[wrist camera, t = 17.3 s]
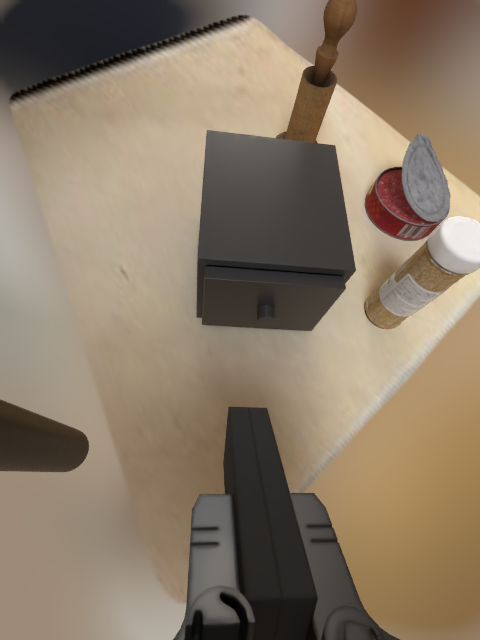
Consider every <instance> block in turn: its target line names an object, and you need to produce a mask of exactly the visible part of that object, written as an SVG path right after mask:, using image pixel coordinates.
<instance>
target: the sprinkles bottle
mask: <svg viewBox="0 0 480 640" xmlns="http://www.w3.org/2000/svg"><path fill="white" fill-rule="evenodd" d="M478 268H480V223H479V222H477V221H475V220H473V219H471V218H467V217H463V216H454V217H450V218H448V219H446V220H444V221H443V222H442V223H441V224H440V225H439V226H438V227H437V228H436V229H435V230H434V231H433V232H432V233H431V234H430V236H429V238H428V240H427V241H426V242H425V243H424V245H422V246H421V247H420V248H419V249H418V250H417V251H416V252H415V253H414V254H413V255H412V256H411V257H410V258H409V259H408V260H407V261H405V262H404V263H403V264H402V265H401V266H400V267H399V268H398V269H397V270H396V271H395V272H394V273H393V274H392V275H391V276H390V277H389V278H388V279H387V280H386V281H385V282H384V283H383V284H382V286H381V287H380V288H379V289H378V290H377V291H376V292H375V293H374V294H372V295H371V296H370V297H369V298H368V299H367V301H366V304H365V311H366V314H367V316H368V318H369V319H370V320H371V321H372V322H373V323H374V324H375V325H377V326H378V327H381V328H383V329H392V328H395V327H397V326H399V325H400V324H401V322H402V321H403V320H405V319H406V318H407V317H409V316H411V315H413V314H414V313H416V312H417V311H418V310H420V309H421V308H422V307H424V306H425V305H427V304H428V303H429V302H431V301H432V300H434V299H435V298H436V297H438V296H439V295H440V294H442V293H443V292H445V291H446V290H447V289H448V288H449V287H450V286H451V285H453V284H454V283H455V282H457V281H458V280H459V279H461V278H462V277H464V276H465V275H468V274H469V273H472V272H474V271H476V270H477V269H478Z"/></svg>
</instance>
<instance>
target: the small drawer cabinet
mask: <svg viewBox="0 0 480 640" xmlns="http://www.w3.org/2000/svg"><path fill="white" fill-rule="evenodd" d="M197 263H198V264H197V317H200V318H202V313H203V294H204V276H205V266H212V265H219V266H232V267H245V268H258V269H271V270H284V271H297V272H311V273H324V274H326V275H332V276H344V280H345V283H346V282H347V281H348V279H349V278H350V277H351V276H352V275H353V273H354V272H355V271H356V269H355V262H354V256H353V250H352V244H351V238H350V232H349V226H348V220H347V214H346V208H345V202H344V196H343V190H342V184H341V178H340V172H339V166H338V160H337V154H336V148H335V145H327V144H318V143H310V142H302V141H293V140H285V139H277V138H269V137H260V136H252V135H244V134H235V133H227V132H219V131H211V130H207V136H206V149H205V163H204V177H203V190H202V204H201V218H200V231H199V245H198V262H197Z"/></svg>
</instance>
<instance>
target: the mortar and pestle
mask: <svg viewBox="0 0 480 640" xmlns="http://www.w3.org/2000/svg"><path fill="white" fill-rule="evenodd" d="M356 13H357V4H356V0H329V1H328V3H327V5H326V7H325V10H324V28H325V39H324V42H323V44H322V45H321V46H319V47H318V49H317V52H316V59H315V66H310V67H308V68H306V69H305V70H304V71H303V74H302V78H301V82H300V85H299V89H298V93H297V97H296V100H295V104H294V108H293V111H292V115H291V118H290V122H289V125H288V129H287V131H286V132H283V133H281V134H279V135H278V136H277V137H276V138H277V139H285V140H293V141H302V142H310V143H317V141H316V137H317V135H318V132H319V129H320V126H321V124H322V121H323V118H324V115H325V113H326V110H327V107H328V104H329V102H330V99H331V96H332V94H333V91H334V88H335V86H336V83H337V78H336V75H335V74H334V73H333V72H332V71H330V70H331V68H332V67H333V65H334V63H335V62H336V59H337V58H338V51H337V49H336V48H337V44H338V42H339V40H340V39H341V38H342V37H343V36H344V35H345V34H346V32H347V31H348V30H349V29H350V28H351V26H352V25H353V23H354V21H355V18H356Z"/></svg>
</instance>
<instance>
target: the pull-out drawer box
mask: <svg viewBox="0 0 480 640" xmlns="http://www.w3.org/2000/svg"><path fill="white" fill-rule="evenodd" d="M345 289H346V286H345V280H344V276H332V275H326V274H324V273H311V272H297V271H284V270H271V269H258V268H245V267H232V266H219V265H212V266H205V276H204V294H203V313H202V325H219V326H237V327H254V328H272V329H289V330H307V331H312V329H313V328H314V327H315V326H316V325H317V323H318V322H319V321H320V320H321V318H322V317H323V316H324V315H325V314H326V312H327V311H328V310H329V309H330V307H331V306H332V305H333V304H334V302H335V301H336V300H337V299H338V298H339V296H340V295H341V294H342V293H343V291H344V290H345Z"/></svg>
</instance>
